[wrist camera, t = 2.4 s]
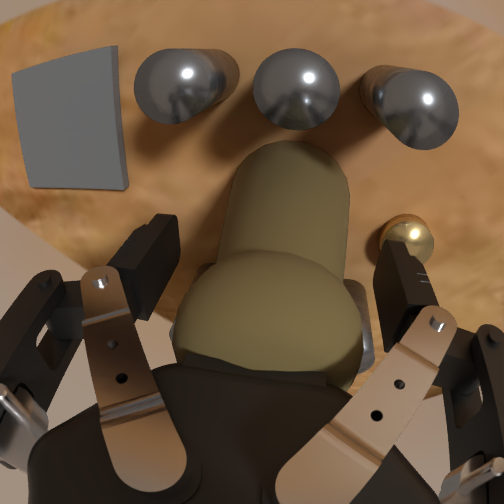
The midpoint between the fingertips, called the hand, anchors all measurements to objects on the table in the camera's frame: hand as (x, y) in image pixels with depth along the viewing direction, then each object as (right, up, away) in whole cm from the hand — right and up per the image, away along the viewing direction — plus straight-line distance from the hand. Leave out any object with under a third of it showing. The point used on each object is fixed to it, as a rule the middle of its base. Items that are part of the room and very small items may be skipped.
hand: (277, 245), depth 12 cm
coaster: (-12, +7, +3) cm, 14 cm away
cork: (+1, +3, +4) cm, 5 cm away
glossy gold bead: (+7, +1, +4) cm, 9 cm away
